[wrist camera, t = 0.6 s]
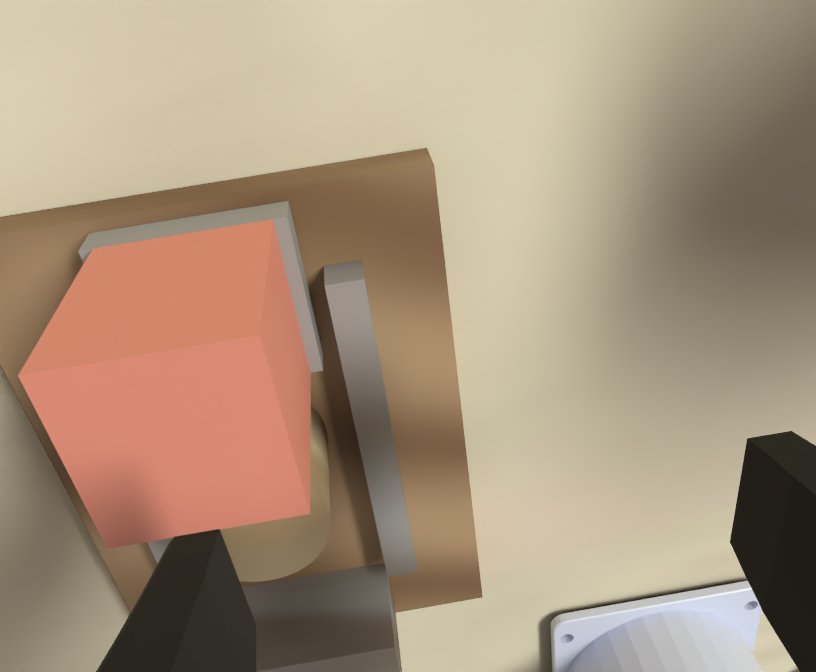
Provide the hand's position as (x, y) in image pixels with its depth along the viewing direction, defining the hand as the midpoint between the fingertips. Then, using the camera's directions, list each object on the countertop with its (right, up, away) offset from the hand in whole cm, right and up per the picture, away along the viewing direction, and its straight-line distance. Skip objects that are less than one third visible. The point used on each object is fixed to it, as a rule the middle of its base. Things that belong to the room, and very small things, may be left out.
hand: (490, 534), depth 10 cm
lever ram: (-6, +4, +7) cm, 10 cm away
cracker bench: (-5, 0, +11) cm, 12 cm away
